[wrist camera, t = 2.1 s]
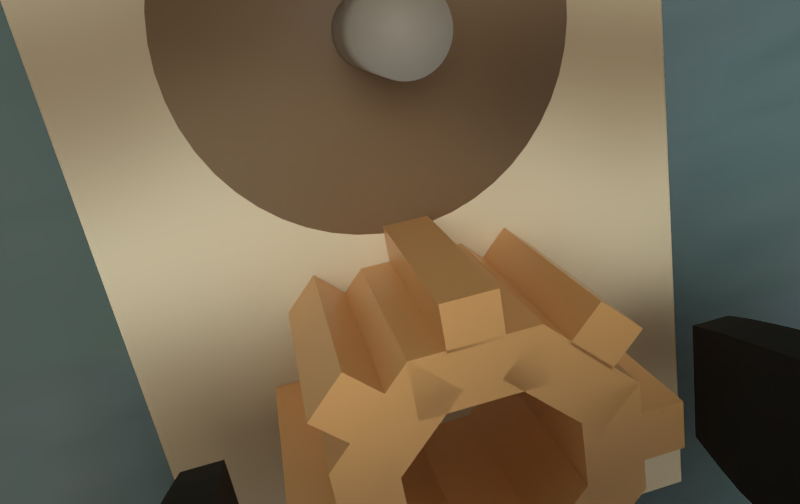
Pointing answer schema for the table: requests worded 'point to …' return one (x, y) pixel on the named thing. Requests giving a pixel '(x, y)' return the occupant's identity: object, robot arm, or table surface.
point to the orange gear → (467, 383)
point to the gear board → (341, 174)
